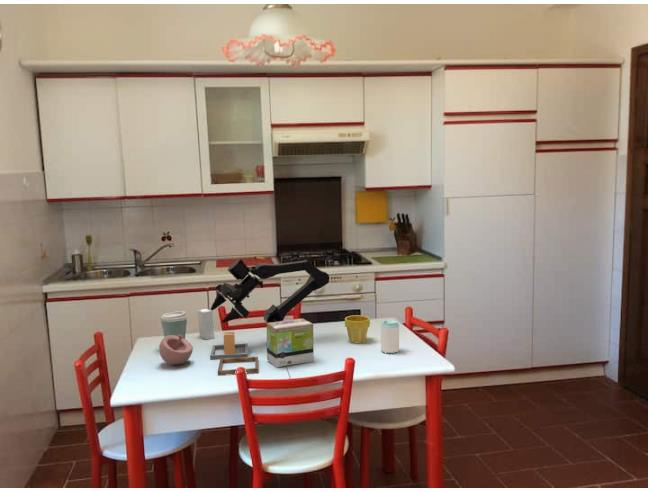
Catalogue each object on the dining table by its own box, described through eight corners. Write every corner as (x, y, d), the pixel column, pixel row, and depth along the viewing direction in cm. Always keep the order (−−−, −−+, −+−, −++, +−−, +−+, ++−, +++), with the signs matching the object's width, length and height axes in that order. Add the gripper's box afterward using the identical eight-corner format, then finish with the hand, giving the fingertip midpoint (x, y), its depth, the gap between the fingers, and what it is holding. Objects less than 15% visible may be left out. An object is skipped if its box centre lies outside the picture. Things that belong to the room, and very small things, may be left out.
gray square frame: (248, 346, 235) (247, 343, 235) (247, 357, 221) (247, 353, 221) (213, 348, 233) (212, 345, 233) (210, 359, 219) (210, 355, 219)
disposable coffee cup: (162, 354, 227) (160, 317, 225) (161, 347, 237) (159, 311, 235) (190, 351, 230) (188, 314, 228) (187, 344, 240) (185, 308, 238)
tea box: (277, 368, 208) (275, 328, 206) (266, 361, 217) (265, 322, 215) (314, 361, 215) (313, 322, 213) (303, 354, 224) (302, 317, 222)
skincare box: (214, 338, 249) (213, 310, 247) (205, 340, 246) (204, 312, 244) (207, 335, 253) (206, 308, 252) (198, 337, 250) (197, 309, 249)
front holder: (258, 360, 217) (257, 356, 217) (258, 372, 204) (258, 368, 203) (220, 362, 216) (220, 358, 216) (217, 375, 202) (217, 371, 202)
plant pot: (374, 339, 241) (374, 316, 240) (362, 346, 233) (362, 322, 232) (352, 336, 247) (352, 314, 246) (340, 342, 238) (340, 319, 237)
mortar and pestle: (182, 370, 208) (181, 339, 206) (153, 368, 211) (151, 337, 210) (199, 360, 219) (197, 330, 218) (171, 358, 223) (169, 329, 221)
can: (386, 355, 221) (386, 324, 219) (377, 350, 227) (377, 320, 226) (402, 352, 223) (402, 322, 222) (393, 347, 230) (393, 318, 228)
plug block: (235, 351, 229) (234, 331, 228) (234, 354, 225) (234, 334, 224) (224, 351, 229) (224, 332, 228) (224, 355, 225) (223, 335, 224)
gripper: (223, 266, 232) (194, 294, 229) (247, 289, 220) (217, 319, 217) (236, 280, 240) (209, 307, 238) (261, 303, 228) (232, 332, 226)
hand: (216, 316), depth 229 cm, fingers open, 9 cm apart
